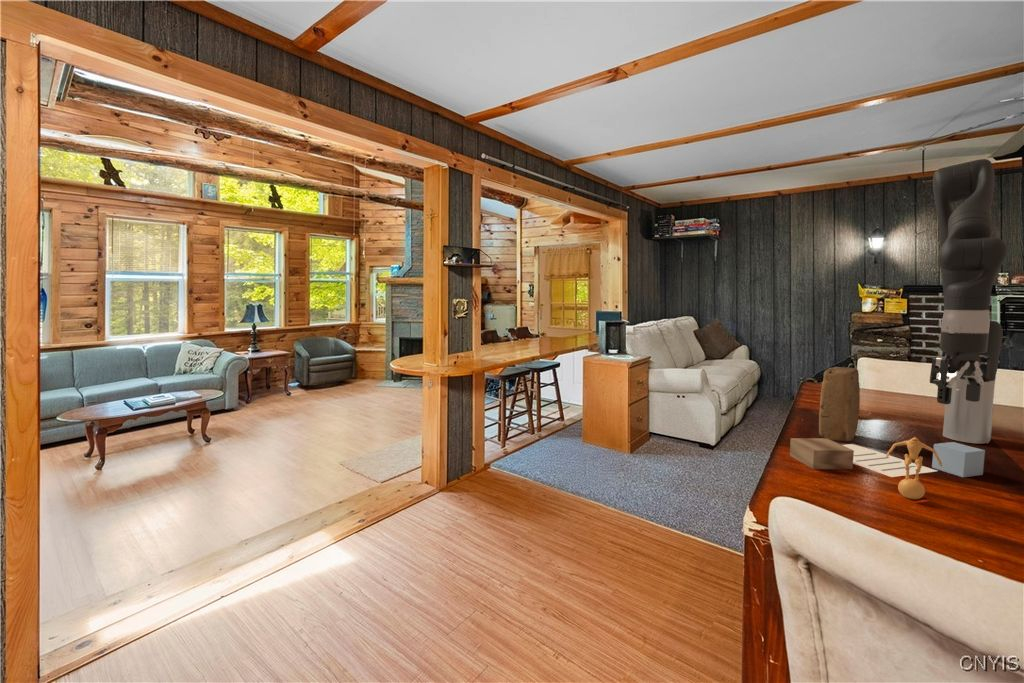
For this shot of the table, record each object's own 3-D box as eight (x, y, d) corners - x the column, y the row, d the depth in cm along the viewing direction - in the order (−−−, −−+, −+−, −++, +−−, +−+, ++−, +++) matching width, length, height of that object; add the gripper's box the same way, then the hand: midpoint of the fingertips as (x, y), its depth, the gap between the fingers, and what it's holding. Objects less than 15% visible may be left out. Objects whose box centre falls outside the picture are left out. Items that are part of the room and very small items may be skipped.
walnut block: (825, 457, 113) (827, 438, 113) (852, 471, 104) (853, 450, 104) (789, 457, 113) (790, 438, 113) (812, 471, 104) (814, 450, 104)
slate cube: (950, 466, 107) (952, 441, 106) (982, 476, 101) (985, 450, 100) (931, 469, 105) (933, 444, 105) (962, 479, 99) (965, 452, 99)
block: (846, 444, 122) (851, 371, 120) (814, 437, 128) (819, 368, 127) (860, 437, 129) (866, 367, 127) (830, 431, 135) (834, 364, 133)
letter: (852, 444, 122) (853, 443, 122) (938, 472, 103) (938, 470, 103) (810, 449, 119) (811, 447, 119) (891, 478, 100) (891, 476, 100)
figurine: (883, 496, 91) (887, 437, 90) (883, 486, 95) (888, 430, 94) (939, 508, 85) (945, 446, 84) (937, 497, 90) (943, 438, 89)
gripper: (968, 328, 106) (961, 397, 107) (920, 330, 102) (915, 400, 104) (1009, 330, 98) (1002, 404, 100) (960, 332, 95) (953, 408, 97)
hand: (958, 402), depth 102 cm, fingers open, 8 cm apart
